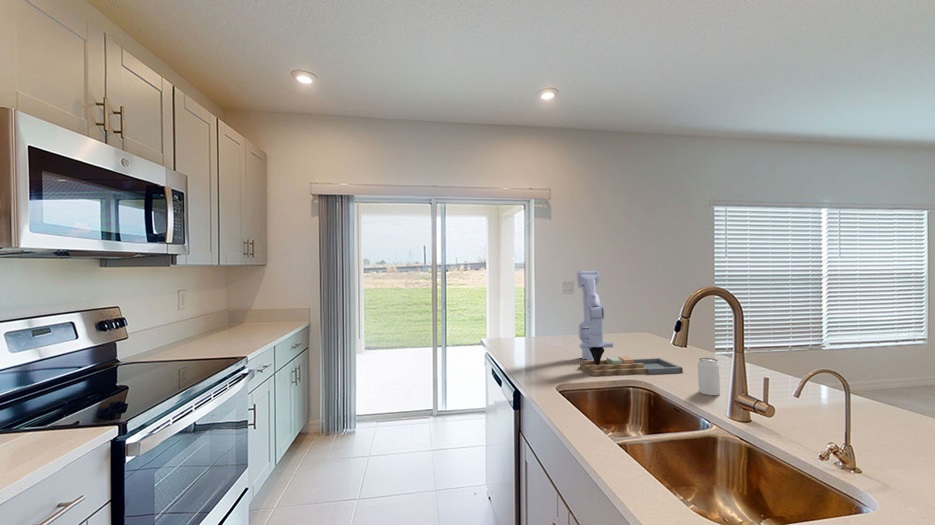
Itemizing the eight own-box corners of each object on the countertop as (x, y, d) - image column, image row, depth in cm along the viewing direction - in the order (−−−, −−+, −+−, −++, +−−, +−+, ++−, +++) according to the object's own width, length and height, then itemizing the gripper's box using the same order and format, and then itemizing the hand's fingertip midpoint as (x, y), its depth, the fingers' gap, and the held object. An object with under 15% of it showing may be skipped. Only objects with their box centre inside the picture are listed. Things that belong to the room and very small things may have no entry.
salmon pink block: (625, 367, 159) (624, 360, 159) (618, 363, 165) (618, 356, 165) (633, 366, 159) (633, 359, 159) (626, 363, 165) (626, 356, 165)
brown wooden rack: (592, 376, 154) (592, 367, 154) (579, 367, 168) (579, 359, 168) (646, 373, 156) (646, 365, 156) (629, 364, 170) (629, 357, 170)
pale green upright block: (613, 367, 159) (612, 360, 159) (606, 363, 165) (606, 357, 165) (621, 367, 159) (621, 360, 159) (615, 363, 165) (615, 356, 165)
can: (723, 396, 127) (722, 362, 127) (703, 395, 128) (702, 361, 128) (715, 390, 133) (714, 357, 133) (695, 389, 135) (694, 357, 135)
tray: (648, 374, 154) (648, 369, 154) (628, 364, 171) (628, 359, 171) (682, 372, 156) (682, 367, 156) (659, 362, 172) (659, 358, 172)
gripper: (583, 335, 157) (584, 367, 157) (616, 334, 158) (617, 365, 158) (577, 332, 164) (578, 363, 164) (608, 331, 165) (609, 361, 165)
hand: (596, 364), depth 161 cm, fingers closed
